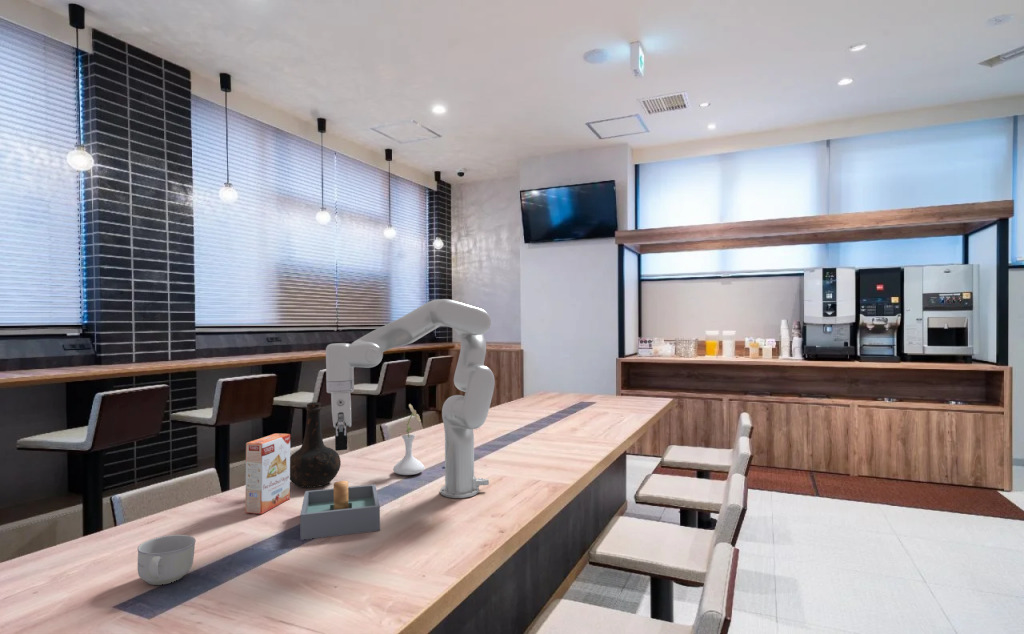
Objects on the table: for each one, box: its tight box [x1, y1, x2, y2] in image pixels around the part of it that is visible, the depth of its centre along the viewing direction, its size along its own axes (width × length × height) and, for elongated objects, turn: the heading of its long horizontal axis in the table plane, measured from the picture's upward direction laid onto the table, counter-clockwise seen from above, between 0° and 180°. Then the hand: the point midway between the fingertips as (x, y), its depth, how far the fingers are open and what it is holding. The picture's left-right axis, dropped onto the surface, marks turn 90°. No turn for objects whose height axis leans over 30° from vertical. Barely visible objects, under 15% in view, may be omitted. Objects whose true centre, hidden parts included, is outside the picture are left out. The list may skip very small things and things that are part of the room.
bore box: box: [299, 484, 381, 541], centre depth 152 cm, size 20×20×6 cm
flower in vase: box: [392, 403, 425, 476], centre depth 199 cm, size 13×11×25 cm
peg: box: [333, 480, 349, 510], centre depth 155 cm, size 4×4×10 cm
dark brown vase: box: [290, 402, 342, 489], centre depth 186 cm, size 18×18×28 cm
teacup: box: [137, 534, 196, 586], centre depth 118 cm, size 14×11×8 cm
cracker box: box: [245, 433, 291, 515], centre depth 165 cm, size 14×6×21 cm, turn 168°
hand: (341, 445), depth 155 cm, fingers open, 9 cm apart
